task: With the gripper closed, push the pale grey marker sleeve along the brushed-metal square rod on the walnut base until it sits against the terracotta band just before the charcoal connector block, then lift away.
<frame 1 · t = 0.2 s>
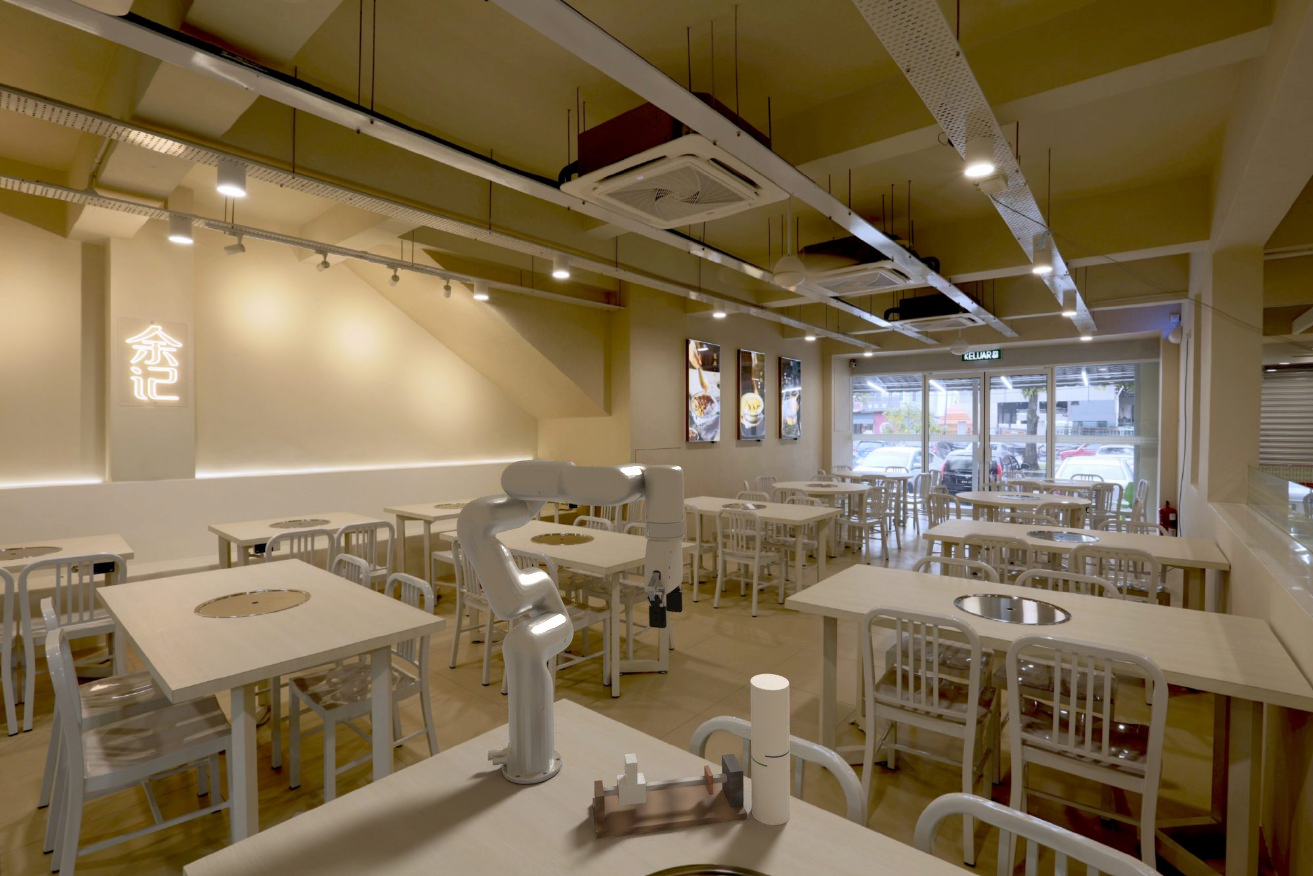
hand: (666, 619, 115), 36 cm above the table, tool pointing down, fingers open, 9 cm apart
cylindrical container: (770, 813, 114), on the table
rail: (668, 811, 115), on the table
sleeve: (631, 778, 113), point 7 cm above the table, slide at 0.0 cm
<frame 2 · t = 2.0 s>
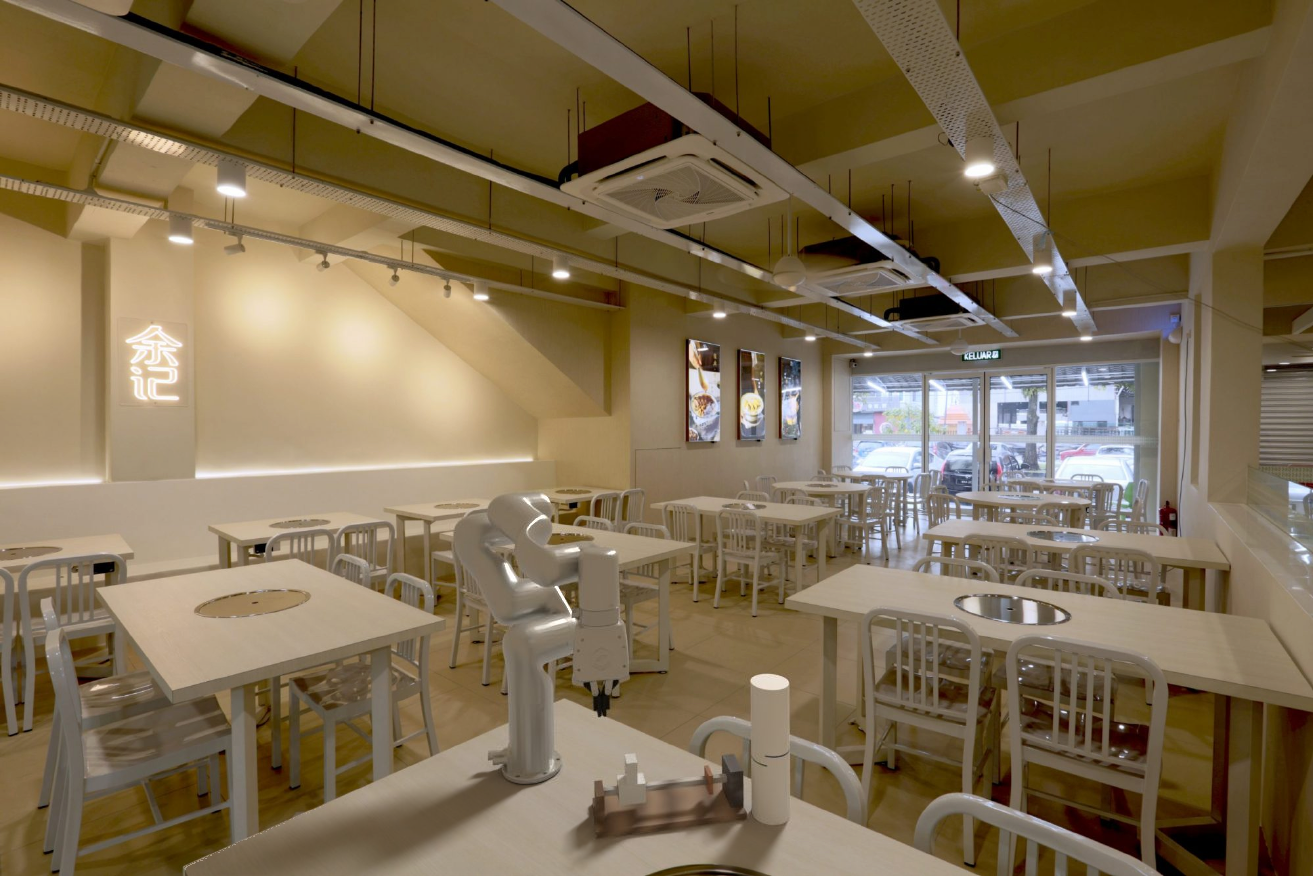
hand: (601, 713, 112), 20 cm above the table, tool pointing down, fingers closed
nothing on the table moved.
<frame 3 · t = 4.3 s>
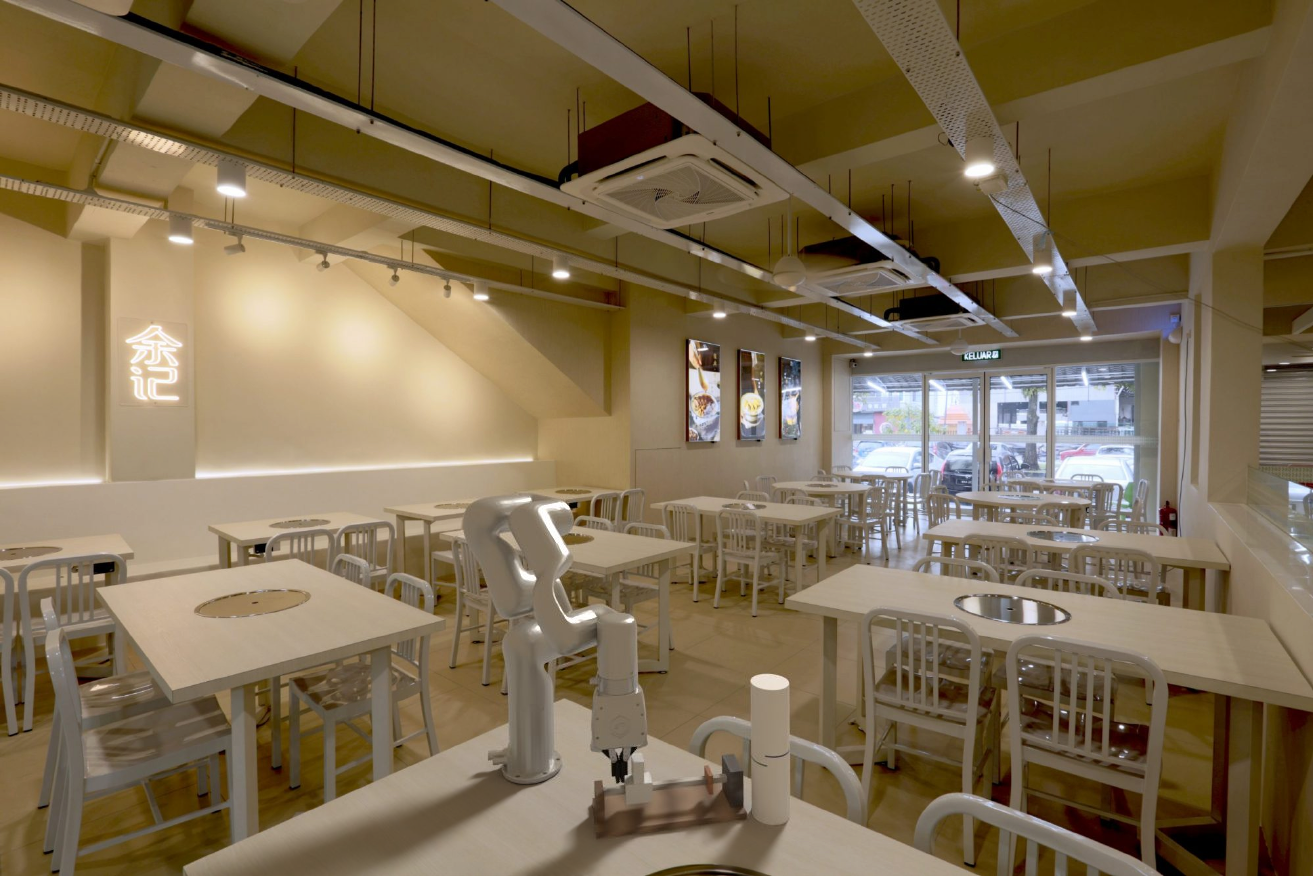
hand: (619, 778, 113), 7 cm above the table, tool pointing down, fingers closed
sleeve: (637, 777, 113), point 7 cm above the table, slide at 1.3 cm, touching gripper
everything else where it was.
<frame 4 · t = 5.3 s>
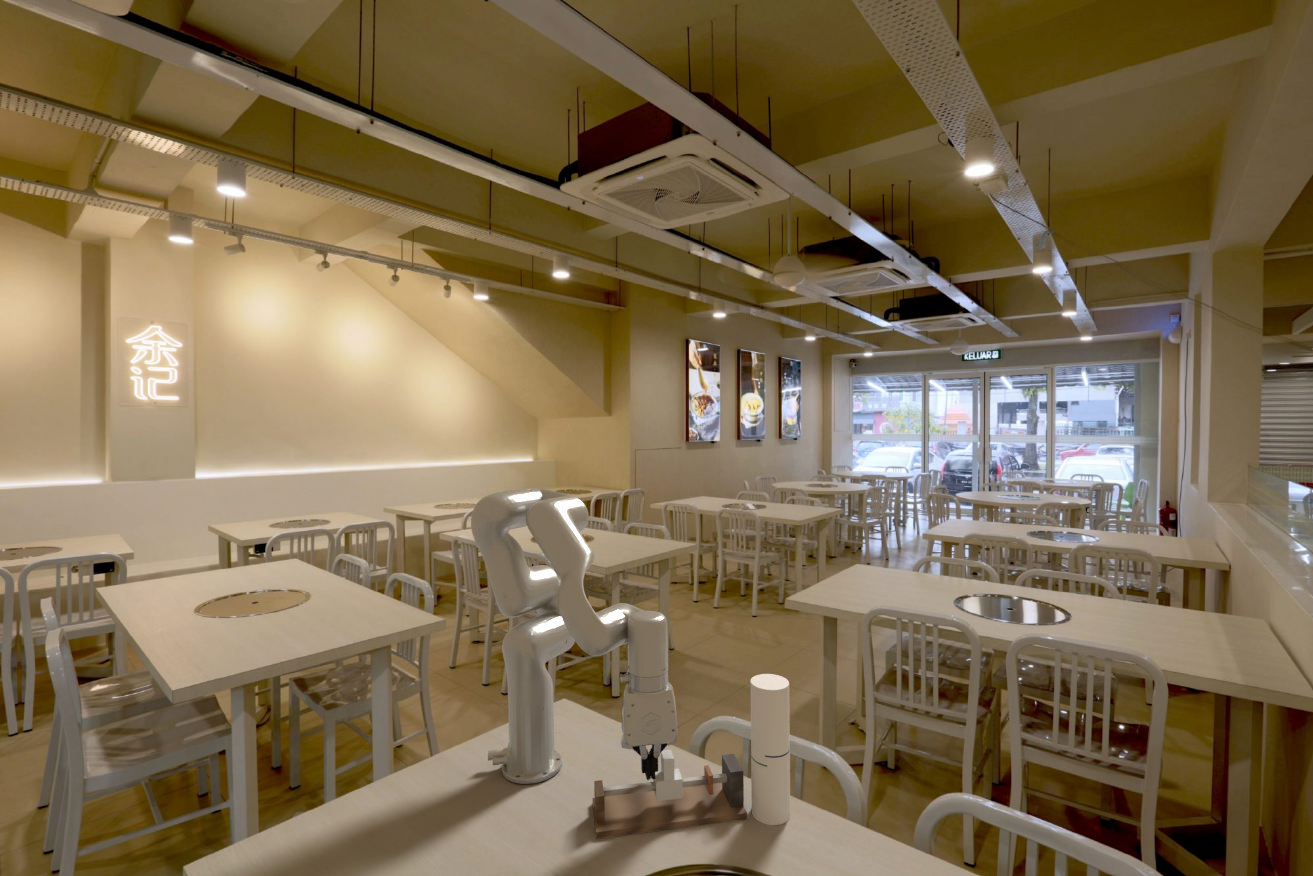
hand: (649, 775, 114), 7 cm above the table, tool pointing down, fingers closed
sleeve: (667, 774, 114), point 7 cm above the table, slide at 7.0 cm, touching gripper
everything else where it was.
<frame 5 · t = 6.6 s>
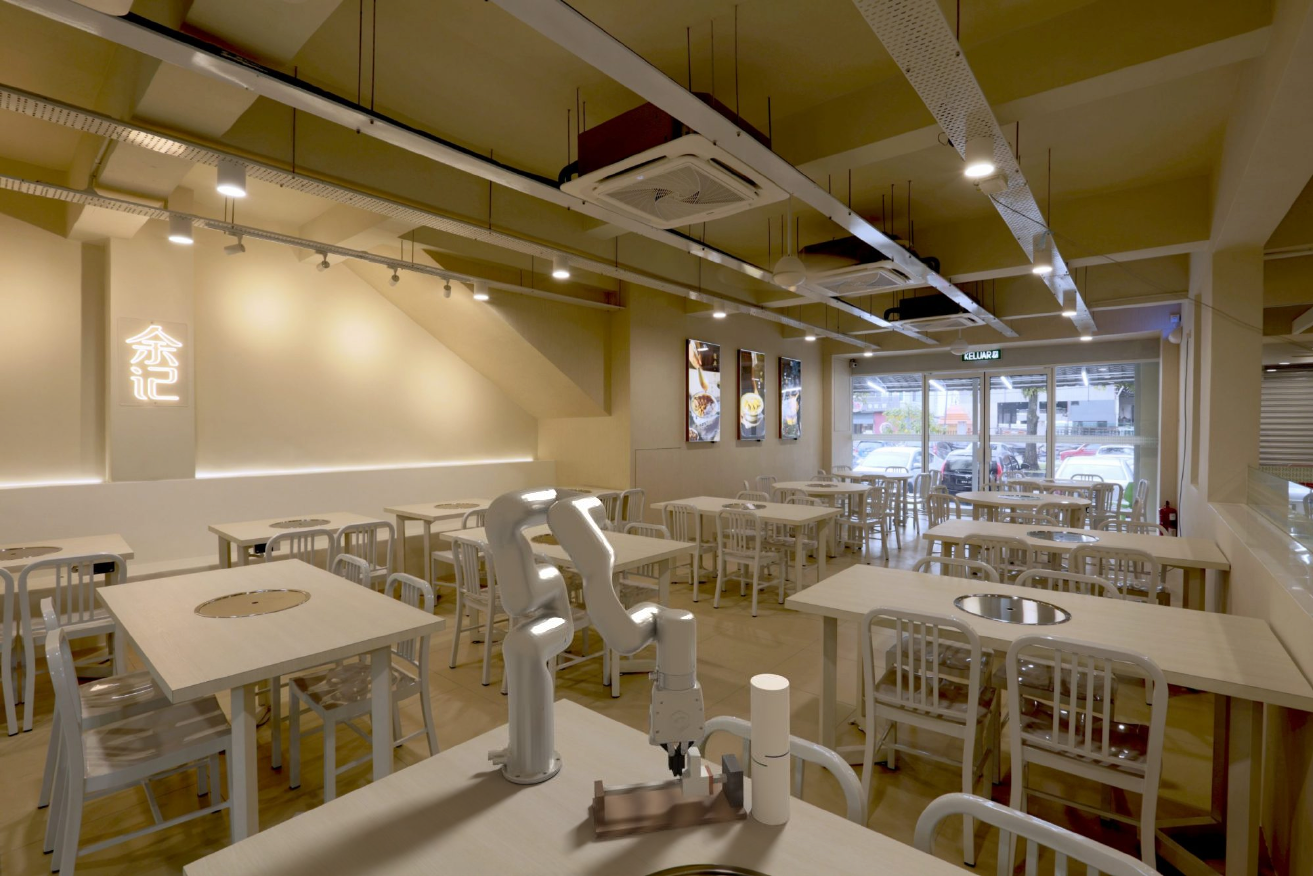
hand: (676, 772, 115), 7 cm above the table, tool pointing down, fingers closed
sleeve: (693, 771, 115), point 7 cm above the table, slide at 12.1 cm, touching gripper, rail
everything else where it was.
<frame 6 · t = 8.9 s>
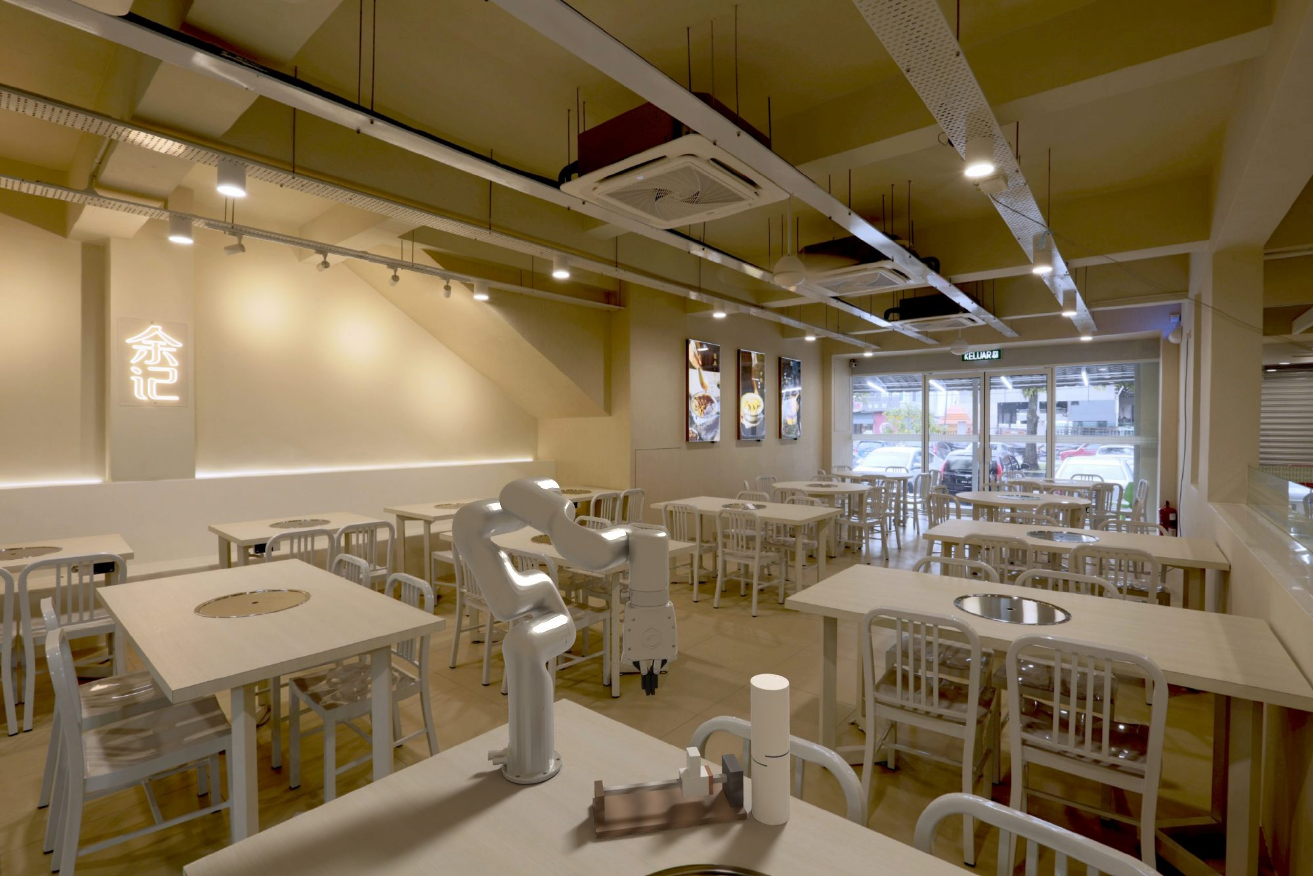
hand: (649, 692, 114), 23 cm above the table, tool pointing down, fingers closed
sleeve: (693, 771, 115), point 7 cm above the table, slide at 12.1 cm
everything else where it was.
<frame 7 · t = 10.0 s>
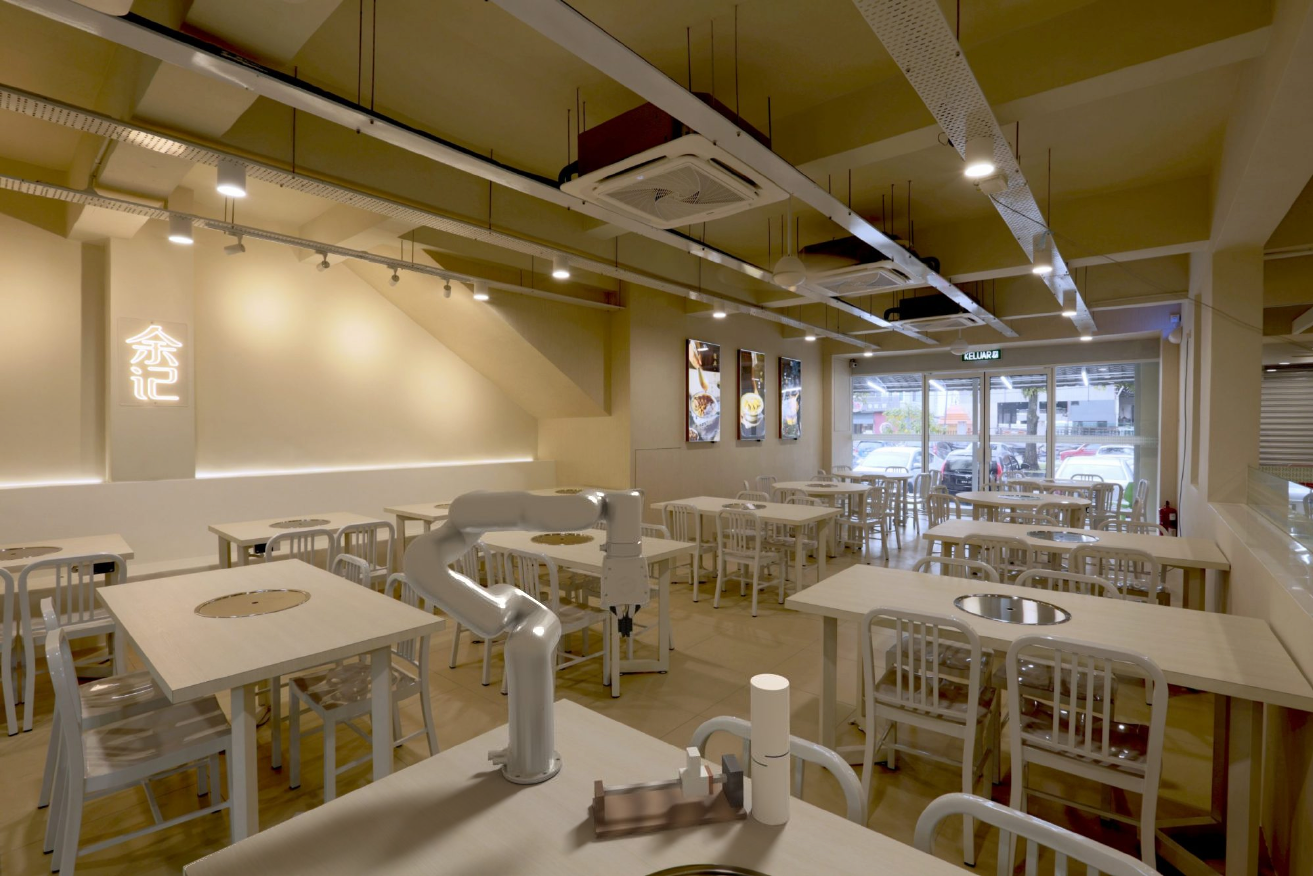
hand: (625, 635, 128), 29 cm above the table, tool pointing down, fingers closed
nothing on the table moved.
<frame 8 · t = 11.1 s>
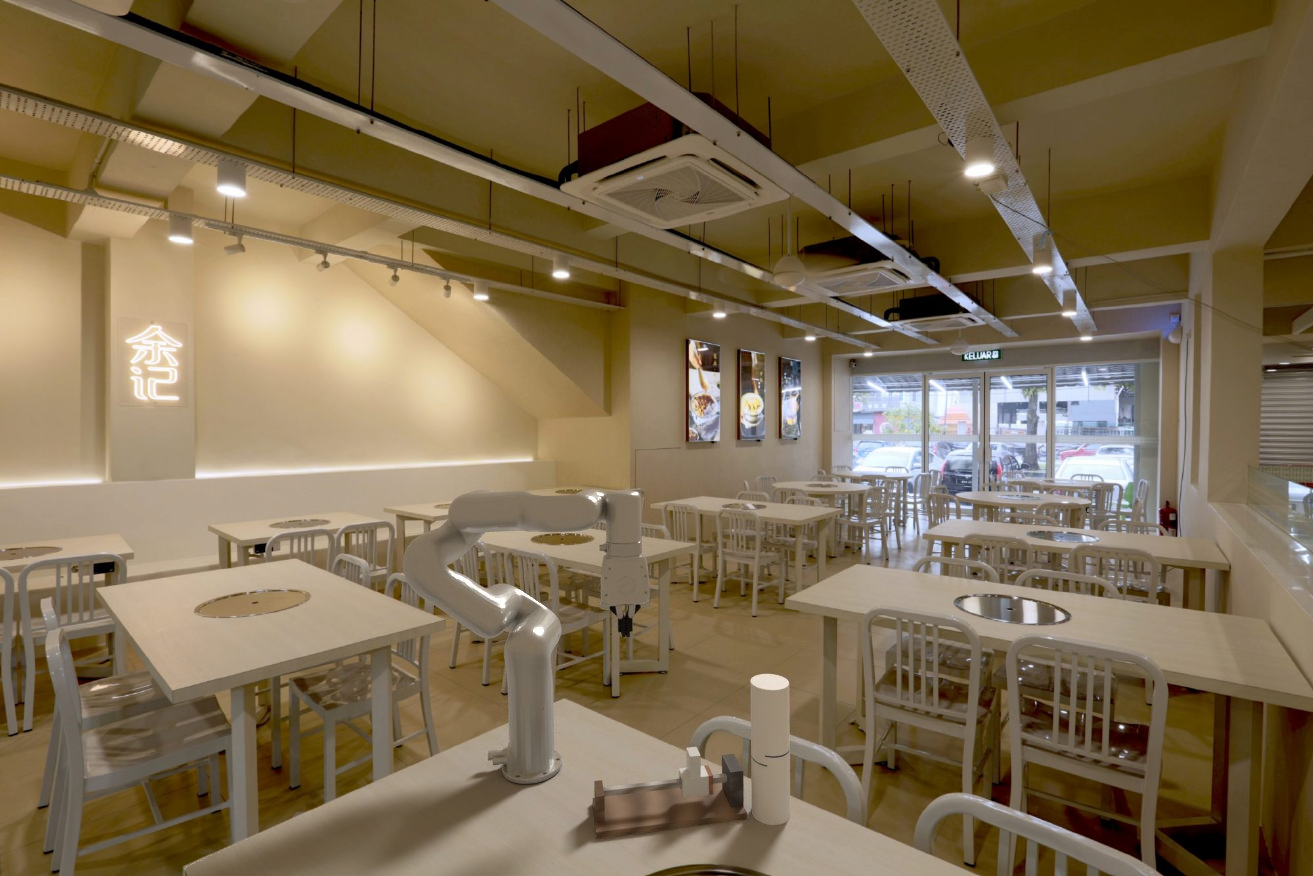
hand: (625, 635, 128), 29 cm above the table, tool pointing down, fingers closed
nothing on the table moved.
at the end: sleeve slide at 12.1 cm; sleeve touching nothing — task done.
